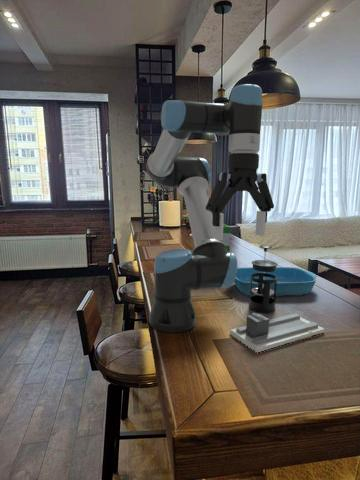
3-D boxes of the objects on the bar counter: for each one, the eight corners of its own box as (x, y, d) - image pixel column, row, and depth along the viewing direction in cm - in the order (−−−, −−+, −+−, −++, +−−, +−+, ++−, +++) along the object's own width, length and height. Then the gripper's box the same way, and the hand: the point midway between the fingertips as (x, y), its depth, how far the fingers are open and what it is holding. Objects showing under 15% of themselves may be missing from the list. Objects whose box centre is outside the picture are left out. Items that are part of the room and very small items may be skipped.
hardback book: (205, 266, 170) (206, 222, 165) (218, 266, 171) (220, 222, 166) (213, 276, 153) (215, 227, 148) (228, 275, 154) (230, 226, 149)
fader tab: (256, 338, 89) (257, 319, 88) (246, 332, 92) (247, 313, 91) (268, 335, 91) (269, 316, 90) (257, 329, 94) (258, 311, 93)
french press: (246, 302, 120) (249, 242, 116) (271, 302, 120) (275, 243, 116) (251, 314, 109) (255, 249, 105) (279, 315, 108) (284, 250, 104)
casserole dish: (234, 299, 124) (234, 282, 122) (223, 281, 145) (223, 266, 144) (326, 298, 126) (327, 281, 124) (301, 281, 147) (302, 266, 146)
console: (256, 353, 84) (257, 344, 84) (230, 334, 95) (230, 326, 94) (324, 333, 96) (324, 325, 96) (293, 318, 106) (294, 311, 106)
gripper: (210, 149, 70) (207, 243, 74) (291, 154, 81) (285, 235, 85) (193, 151, 76) (191, 238, 80) (270, 156, 88) (265, 231, 92)
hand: (239, 237), depth 83 cm, fingers open, 13 cm apart
